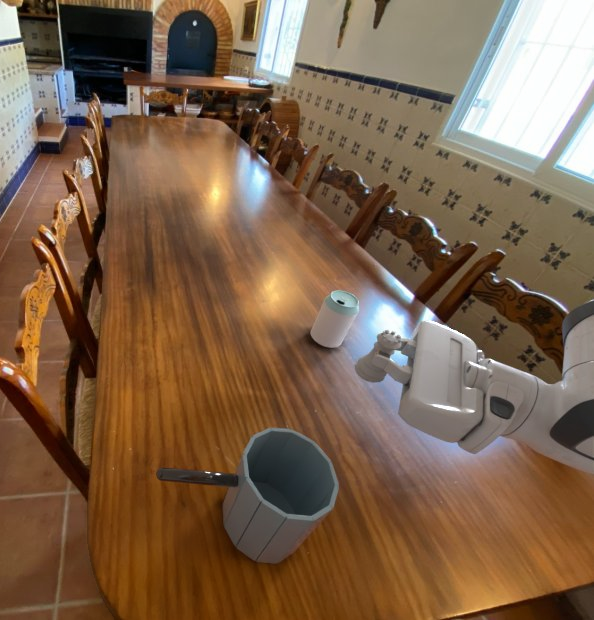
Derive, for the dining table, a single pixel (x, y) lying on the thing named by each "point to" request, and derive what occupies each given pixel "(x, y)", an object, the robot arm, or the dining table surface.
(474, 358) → the robot arm
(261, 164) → the dining table surface
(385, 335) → the rook chess piece
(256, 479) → the pot
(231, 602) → the dining table surface
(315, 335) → the can
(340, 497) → the dining table surface
